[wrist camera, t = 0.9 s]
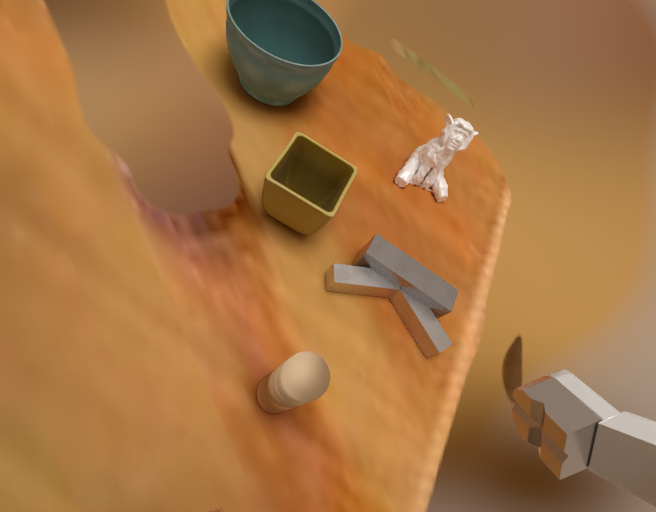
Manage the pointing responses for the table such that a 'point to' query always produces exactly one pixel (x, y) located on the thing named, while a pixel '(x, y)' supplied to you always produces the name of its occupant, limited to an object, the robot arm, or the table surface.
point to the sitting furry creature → (436, 158)
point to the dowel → (293, 383)
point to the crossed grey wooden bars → (399, 290)
